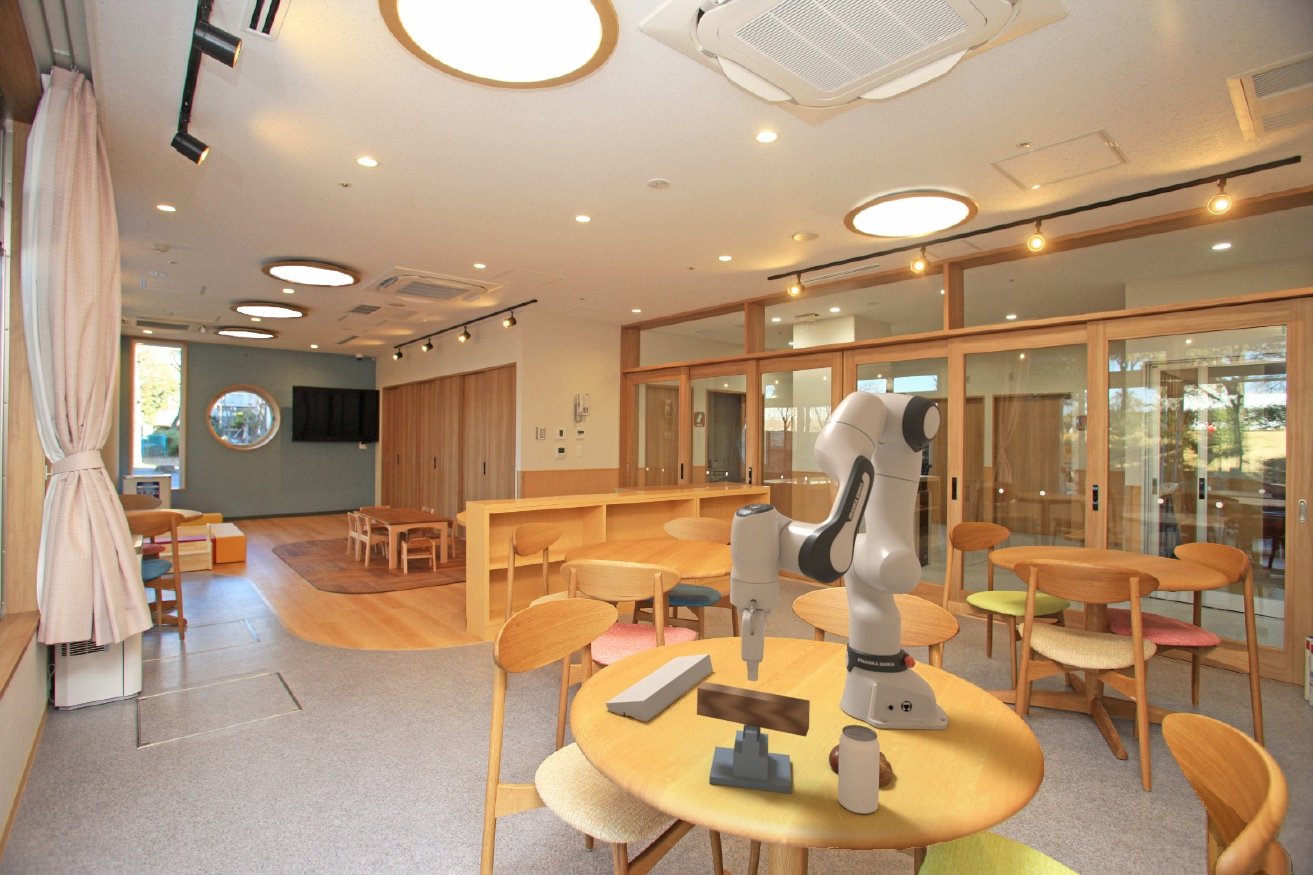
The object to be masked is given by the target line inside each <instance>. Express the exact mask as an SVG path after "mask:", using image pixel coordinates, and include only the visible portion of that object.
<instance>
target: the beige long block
mask: <svg viewBox="0 0 1313 875" xmlns="http://www.w3.org/2000/svg"><path fill="white" fill-rule="evenodd" d="M713 671H714V668H713V664H712V660H711V656H710V653H706V654H696V655H685V656H676V657H675V658H673V659H671V660H670V661H668V662H667V663H665V664H664V665H662V666H660V667H659V668H658V669H655V670H654V671H652V672H651V673H649V674H648V675H646V676H645V677H643V678H642V679H640V680H639V681H637V682H636V683H634V684H633V685H631V686H630V687H628V688H626V689H625V690H623V691H622V692H620V693H619V694H617V695H615V697H612V698H611V699H610V700H608V701H606V702H605V705H606V708H607V711H608V712H609V713H615V714H618V715H621V716H624V715H625V716H626V717H632V718H633V719H635V720H638V719H639V721H642V722H645V721H646V723H648V722H649V721H650V720H652V719H653V718H654V717H656V716H657V715H658V714H660V713H661V712H662V711H664V710H665V709H666V708H668V707H669V706H670V705H671V704H672V703H674V702H675V701H677V700H678V699H679V698H680V697H682V696H683V695H684V694H685V693H687V692H688V691H690V689H692V688H693V687H695V686H696V685H697V684H699V682H701V681H702V680H703V679H705V678H706V677H707V676H709V675H710V674H711V673H713ZM686 691H687V692H686ZM673 701H674V702H673ZM668 705H669V706H668ZM659 712H660V713H659ZM656 714H657V715H656ZM655 715H656V716H655Z"/></svg>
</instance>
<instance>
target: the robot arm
mask: <svg viewBox="0 0 1313 875" xmlns="http://www.w3.org/2000/svg"><path fill="white" fill-rule="evenodd" d="M940 427H941V411H940V409H939V406H938V405H937V403H936V402H935V401H934V400H933V399H930V398H928V397H925V396H921V395H915V396H914V395H909V394H904V393H895V392H886V393H885V392H883V393H882V392H869V391H866V390H865V391H864V390H859V391H853V392H851V393H849V394H848V395H846V396H845V397H844V398H843V399H842V400H841V401H840V402H839V404H838V406H836V407H835V409H834V410H833V412H832V413H831V415H830V416H829V418H828V419H827V421H826V422H825V424H824V426H823V427H822V429H821V430H820V432H819V434H818V436H817V437H816V440H815V444H814V446H813V453H814V459H815V461H816V463H817V465H818V466H819V468H820V469H821V470H822V472H823V473H825V475H827V476H828V477H829V478H830V479H831V480H833V481H835V482H837V483H839V488H838V491H837V494H836V495H835V499H834V502H833V504H832V507H831V509H830V513H829V516H828V518H827V519H825V520H824V521H822V522H820V523H811V522H806V521H805V522H804V521H801V520H796V519H795V520H794V519H793V518H790V517H788V516H785V515H784V514H782V513H780V512H779V511H778V510H777V509H776V507H775V505H772V504H770V503H754V504H753V503H752V504H747V505H743V506H741V507H739V508H738V509H737V510H736V511H735V513H734V515H733V518H732V522H731V523H732V524H731V529H730V548H729V549H730V550H729V551H730V556H731V562H732V565H731V566H732V567H731V570H730V576H729V577H730V578H729V581H730V582H729V584H730V586H729V588H730V589H729V602H730V604H731V605H733V606H735V607H736V612H737V613H738V614H739V615H741V616H742V619H741V633H740V634H741V635H740V636H741V637H740V638H741V640H740V646H741V647H740V657H741V660H742V662H746V667H747V668H746V669H747V680H748V681H751V682H752V681H753V682H757V681H758V679H759V664H760V663H762V662H763V661H764V660H763V659H764V652H765V651H764V649H765V646H764V645H765V637H766V636H765V634H766V624H767V617H768V616H771V615H772V613H773V609H774V608H777V607H778V606H779V605H780V575H779V571H781V570H783V571H787V572H789V573H793V574H796V575H800V576H803V577H804V576H805V577H807V578H809V579H811V580H814V581H816V582H819V583H822V584H827V585H828V584H832V583H835V582H837V581H838V580H840V579H841V578H842V577H843V580H844V585H845V590H846V597H847V602H848V603H847V604H848V611H849V612H848V615H849V616H848V623H849V624H848V627H849V628H848V643H847V644H846V650H845V668H846V677H845V678H846V679H845V685H844V688H843V693H842V697H841V700H840V703H839V707H840V708H841V709H842V711H844V712H845V713H846V714H847V715H849V716H851V717H854V718H855V719H858V720H861V721H864V722H865V723H867V724H869V725H871V726H873V727H874V728H877V729H898V730H899V729H902V730H903V729H905V730H907V729H908V730H945V729H947V728H948V727H949V718H948V716H947V713H946V711H945V710H944V709H943V708H942V707H941V706H940V705H939V704H938V703H937V698H936V695H935V692H934V690H933V688H932V686H931V685H930V684H929V683H928V682H927V681H926V680H925V679H924V678H923V677H921V676H920V675H919V674H918V673H917V672H915V671H914V670H913V668H915V666H916V660H915V659H914V658H913V657H912V656H910V654H909V653H908V651H906V650H905V649H904V648H901V645H902V644H901V643H902V642H901V640H902V639H901V638H902V637H901V636H902V631H901V630H902V616H901V611H900V610H899V608H898V606H897V603H896V601H895V598H894V595H904V594H908V593H910V592H912V591H913V590H914V589H915V588H916V587H917V586H918V585H919V582H920V581H921V577H922V565H921V563H920V560H919V559H918V558H919V557H917V554H916V549H915V540H914V512H915V506H916V502H917V495H918V490H919V485H920V480H921V476H922V467H923V465H922V464H923V449H924V448H925V447H927V446H928V445H930V443H931V442H933V440H934V439H935V438H936V437H937V435H938V433H939V431H940ZM863 518H864V520H865V522H864V523H865V532H863V533H859V531H860V527H861V524H862V522H863Z"/></svg>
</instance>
